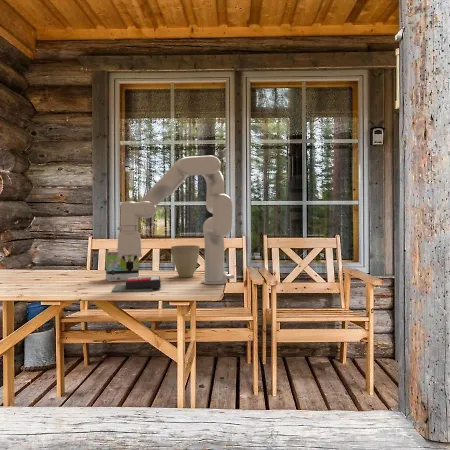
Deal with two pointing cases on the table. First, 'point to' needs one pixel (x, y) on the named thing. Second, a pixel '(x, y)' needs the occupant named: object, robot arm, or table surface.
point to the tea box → (119, 267)
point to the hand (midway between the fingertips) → (129, 270)
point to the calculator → (143, 282)
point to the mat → (123, 289)
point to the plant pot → (185, 259)
